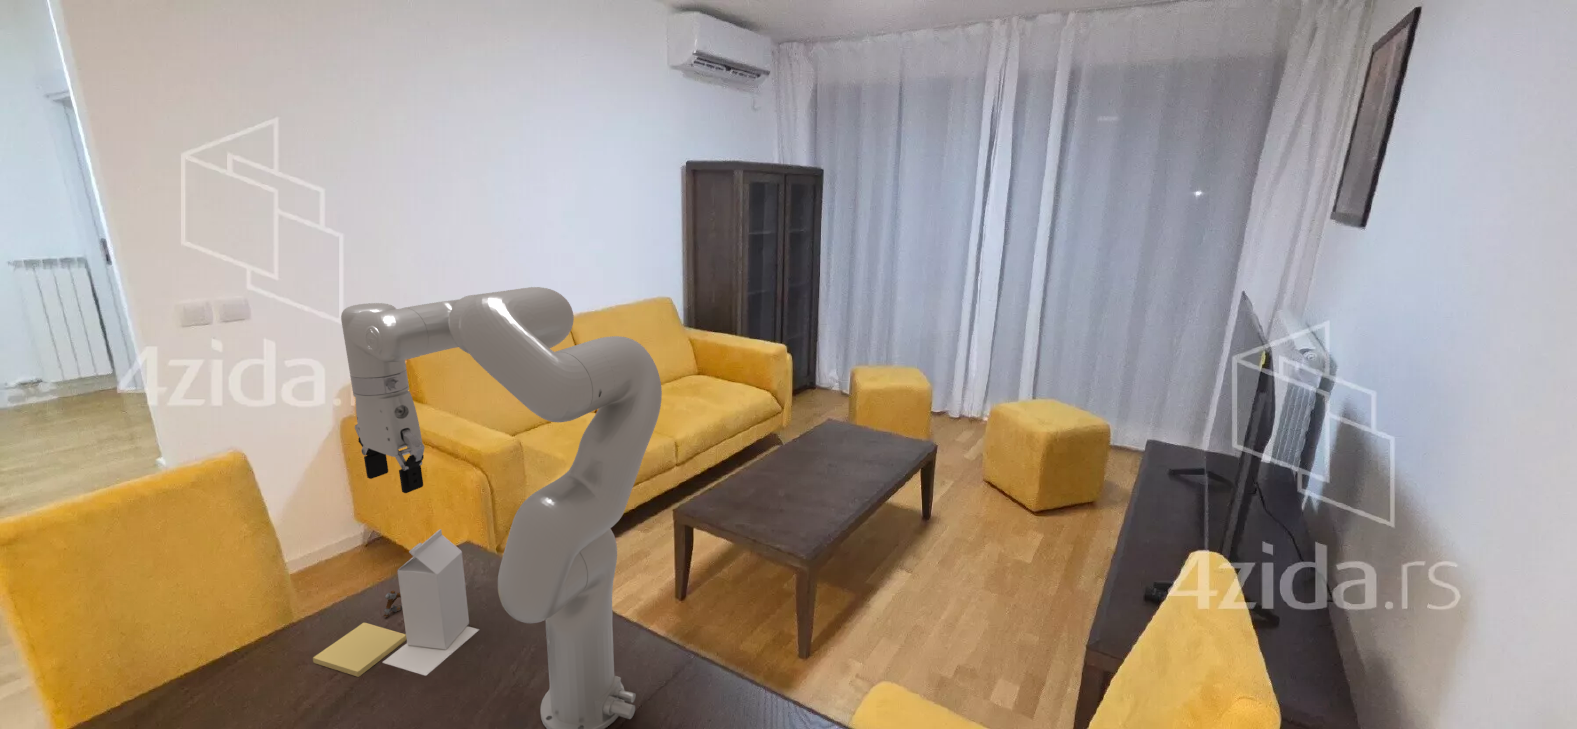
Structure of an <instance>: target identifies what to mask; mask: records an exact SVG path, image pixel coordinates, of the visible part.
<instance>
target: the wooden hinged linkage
mask: <svg viewBox="0 0 1577 729" xmlns="http://www.w3.org/2000/svg"><path fill="white" fill-rule="evenodd" d="M384 598H385V600H386V599H387V602H386V606H385V608H384V610H383V611H384V613H383V617H386V618H387V617H389V616H390V613H391V612H394V613H397V611H401V610H403V609H402V604H397V605H395V604H394V602H396V601H397V600H398V599H401V594H400V591H398V592H396V591H395V590H391V591H390V592H387V593H386V595H385V596H384ZM393 604H394V605H393Z"/></svg>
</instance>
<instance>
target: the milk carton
mask: <svg viewBox="0 0 1577 729" xmlns="http://www.w3.org/2000/svg"><path fill="white" fill-rule="evenodd" d="M442 533H443V532H442V529H440V528H439V529H438V530H437V531H436V532H434V534H432V535H431V536H429V538H427V539H426V540H425V541H423V543H422V542H419V543H417V544H416V545H415V546H413V548H411V549H410V550H409V551H408V553H409V554H411V555H410V556H412V557H411V558H409V559H408V561H406V562H405V563H404V564H403V565H402V566H400V567H399V568H398V569H397V577H398V578H397V579H398V585H399V586H398V587H399V592H400V594H401V598H400V600H401V606H402V609H401V610H402V615H403V621H404V629H405V634H406V638H407V640H406V643H407V645H412V646H420V647H429V648H438V649H447V648H448V647H449V646H450V644H451V643H452V642H453V641H454V640H455V639H456V638H457V637H458V635H459V634H460V633H461V632H462V631H463V630H464V629H465V627H466V626H469V624H470V619H469V610H468V609H469V608H468V599H467V589H466V580H465V571H464V570H465V569H464V561H463V551H462V550H461V549H460V548H459V547H457V545H455V544H454V543H452V542H451V540H449V539H448V538H447V537H446V536H444V535H443V534H442Z"/></svg>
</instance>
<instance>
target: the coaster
mask: <svg viewBox="0 0 1577 729" xmlns="http://www.w3.org/2000/svg"><path fill="white" fill-rule="evenodd" d="M405 642H407V638H406V633H401V632H398V631H395V630H393V629H392V630H391V629H388V628H385V627H382V626H378V625H374V624H371V623H367V622H362V623H361V624H359V625H357V627H355V628H354V629H353V630H351V631H349V632H348V633H346V634H345V635H344V636H342V637H340V638H339V639H338V640H336V641H335V642H333V643H332V644H331V645H329V646H327V647H326V648H325V649H323V650H321V652H319V653H317V654H316V655H314V656H313V657H312V661H313V664H316V665H319V666H323V667H326V668H329V669H332V670H335V671H339V672H341V673H345V674H348V675H351V676H355V677H357V678H358V677H361V676H362V675H363V674H365V673H366V672H367V671H368V670H370V669H371V668H372V667H374V665H376V664H377V663H379V662H380V661H381V660H382V659H384V658H385V657H387V656H388V655H389V654H390V653H391V652H394V651H395V649H397V648H398V647H399V646H400V645H402V644H403V643H405Z"/></svg>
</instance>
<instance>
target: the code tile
mask: <svg viewBox="0 0 1577 729" xmlns="http://www.w3.org/2000/svg"><path fill="white" fill-rule="evenodd" d="M479 631H480V629H479V628H475V627H471V626H469V625H467V626H466V627H465V629H464V630H463V631H462V632H461V633H460V634H459V635H458V637H457V638H456V639H455V640H454V641H453V642H452V643H451V644H450V646H449V647H448V648H447V649H438V648H429V647H420V646H412V645H407V642H406V643H405V644H404V645H402V646H401V647H400V648H398V650H396V651H395V652H393V653H392V654H391V655H390V656H388V657H387V658H385V660H383V661H382V664H385V665H389V666H390V667H391V666H392V667H395V668H398V669H402V670H405V671H407V672H408V671H409V672H412V673H415V674H419V675H421V676H424V677H426V676H429V674H430V673H432V671H434V670H435V669H436V668H437V667H438V666H440V665H441V664H442V663H443V662H444V661H446V659H447V658H449V657H450V656H451V655H452V654H454V653H455V652H456V651H457V650H458V649H459V648H461V646H463V644H465V643H466V642H467V641H469V639H471V638H472V637H473V636H474V635H476V634H477V632H479Z"/></svg>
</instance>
